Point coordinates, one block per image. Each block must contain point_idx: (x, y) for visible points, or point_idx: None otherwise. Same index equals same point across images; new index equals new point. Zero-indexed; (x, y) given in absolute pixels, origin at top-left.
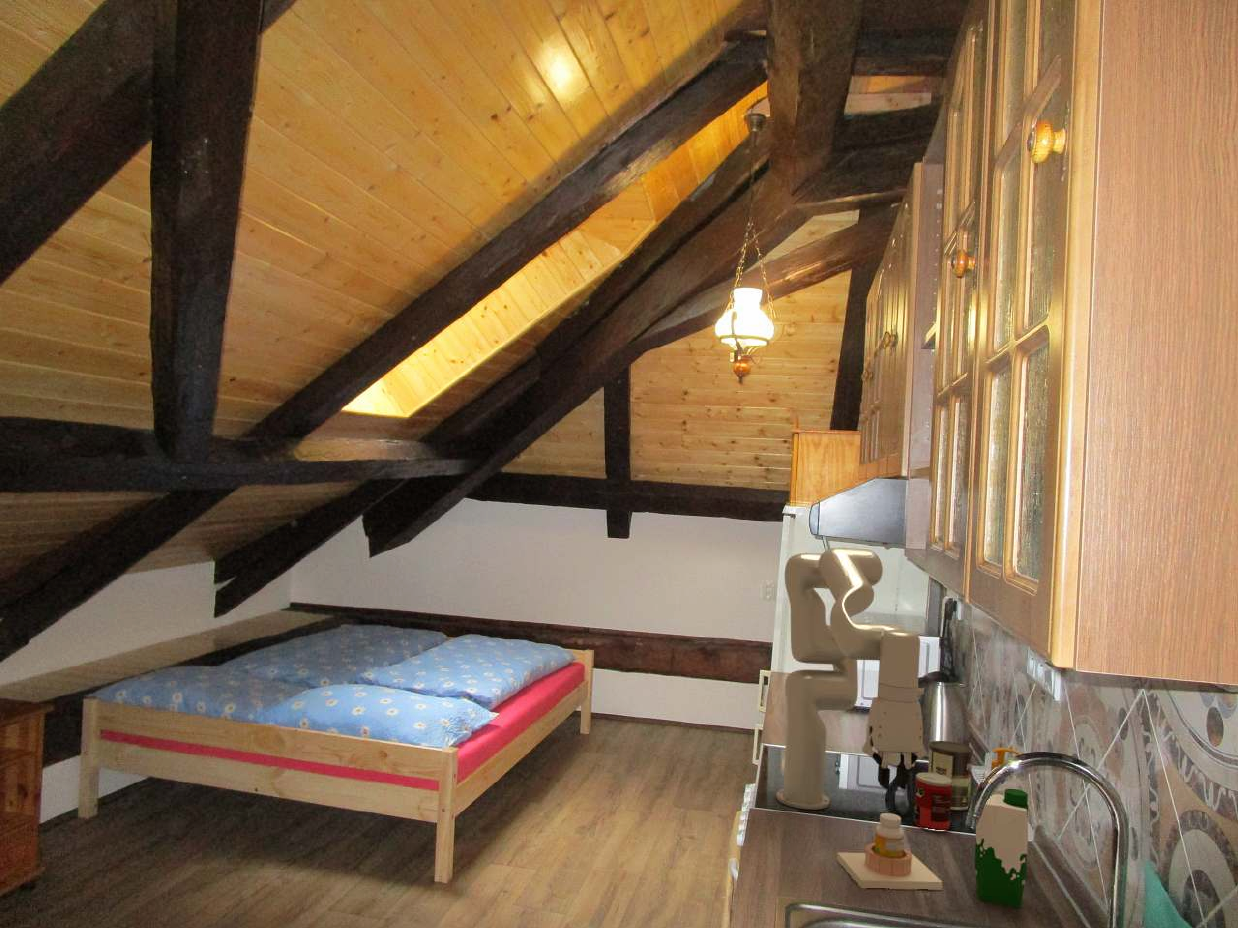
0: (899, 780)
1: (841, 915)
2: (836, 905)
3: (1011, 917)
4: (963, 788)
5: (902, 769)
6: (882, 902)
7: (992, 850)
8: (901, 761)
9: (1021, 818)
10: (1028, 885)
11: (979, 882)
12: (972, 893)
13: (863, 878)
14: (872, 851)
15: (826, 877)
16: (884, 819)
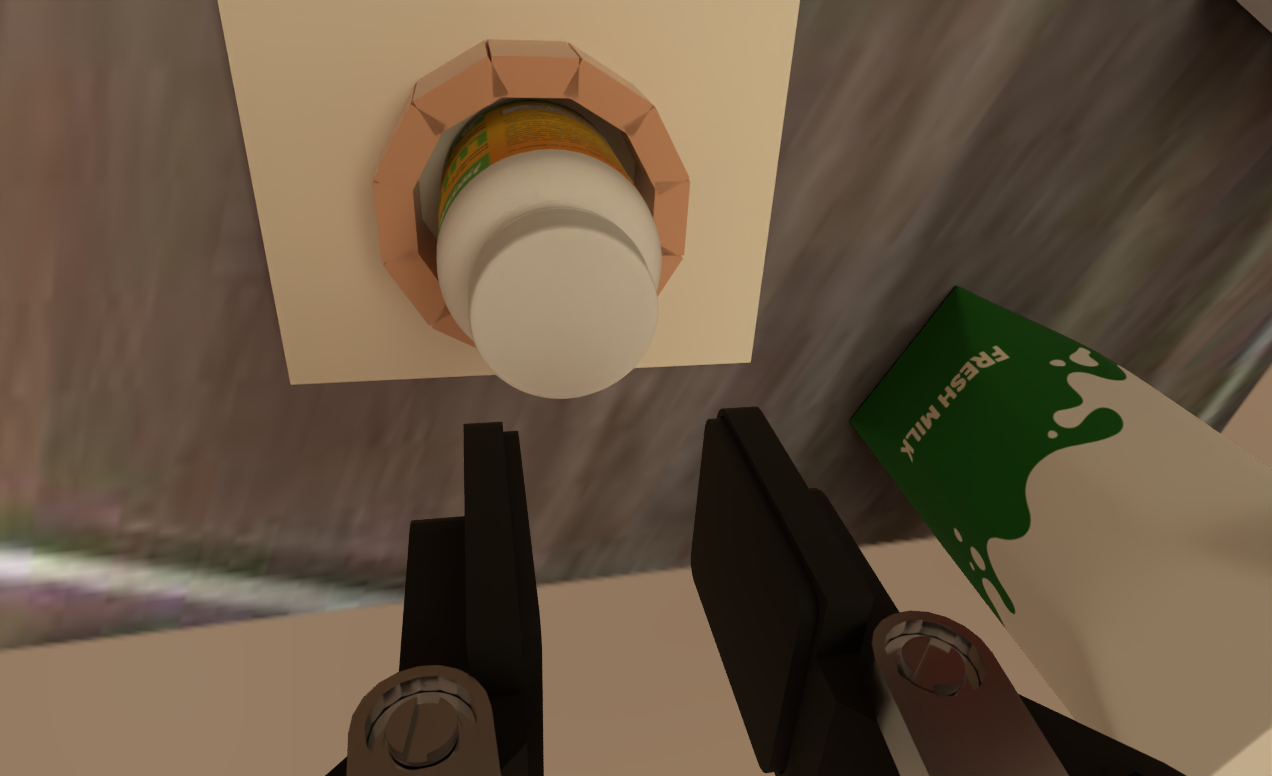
0: (719, 557)
1: (131, 614)
2: (119, 540)
3: (872, 539)
4: None
5: (770, 762)
6: (371, 489)
7: (996, 616)
8: (882, 731)
9: None
10: (1191, 263)
11: (886, 453)
12: (863, 365)
13: (309, 359)
14: (409, 233)
15: (97, 241)
16: (486, 359)
